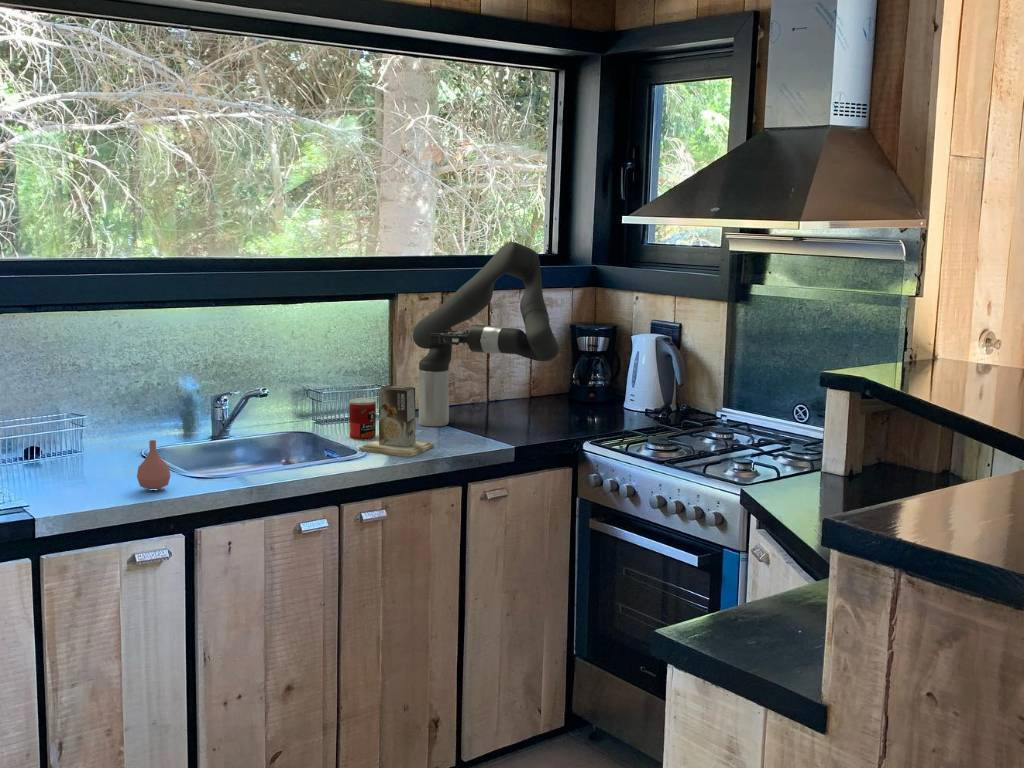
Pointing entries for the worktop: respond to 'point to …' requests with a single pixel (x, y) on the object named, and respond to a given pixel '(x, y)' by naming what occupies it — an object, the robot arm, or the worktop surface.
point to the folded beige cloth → (397, 448)
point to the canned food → (362, 418)
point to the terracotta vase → (153, 470)
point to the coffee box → (396, 416)
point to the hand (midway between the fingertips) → (436, 335)
